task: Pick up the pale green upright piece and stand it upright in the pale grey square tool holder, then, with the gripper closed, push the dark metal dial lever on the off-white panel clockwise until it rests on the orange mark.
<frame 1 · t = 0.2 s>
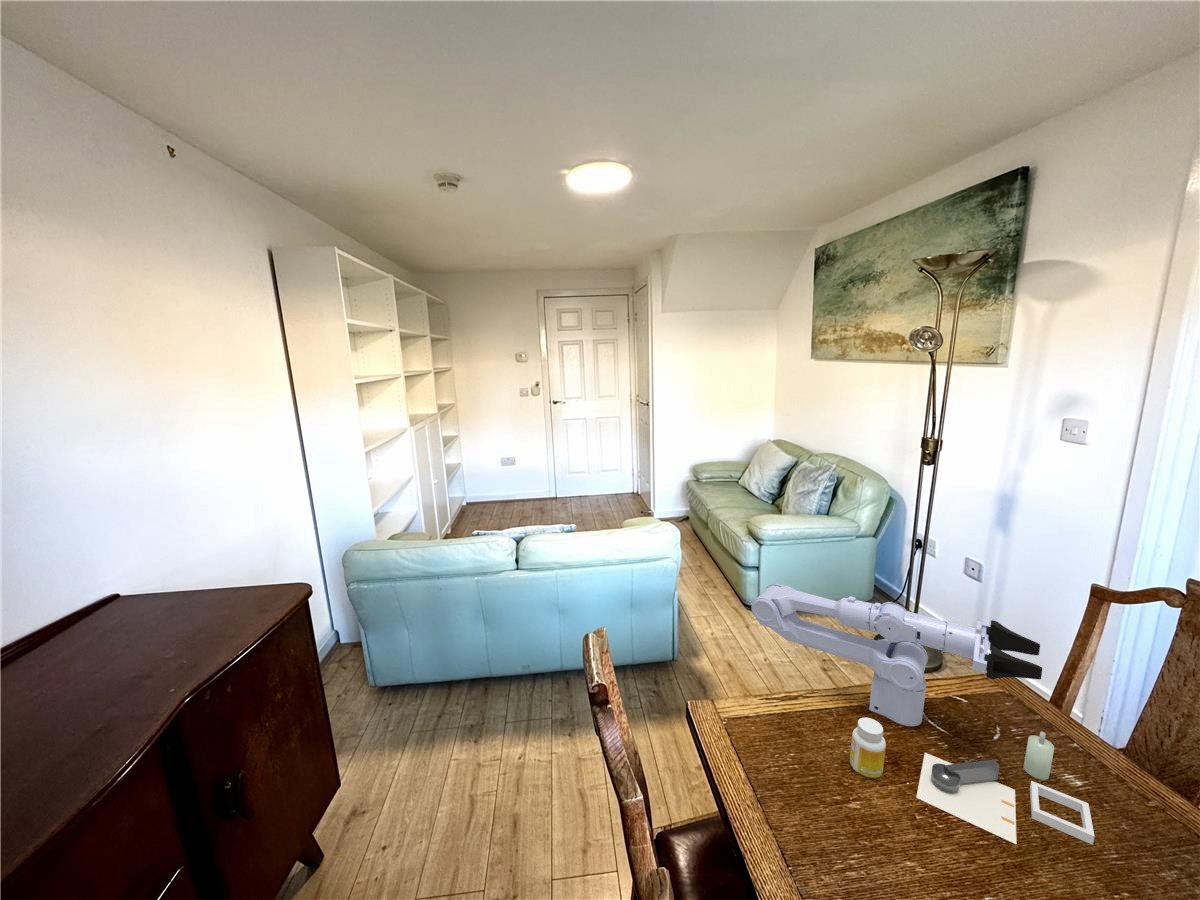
hand: (1040, 661, 85), 21 cm above the table, tool horizontal, fingers open, 7 cm apart
dial panel: (965, 798, 83), on the table
supplement bottle: (865, 771, 89), on the table
tool holder: (1058, 819, 79), on the table
dial lever: (965, 773, 85), point 3 cm above the table, hinge at 45.0°
pale green upright piece: (1035, 776, 87), on the table
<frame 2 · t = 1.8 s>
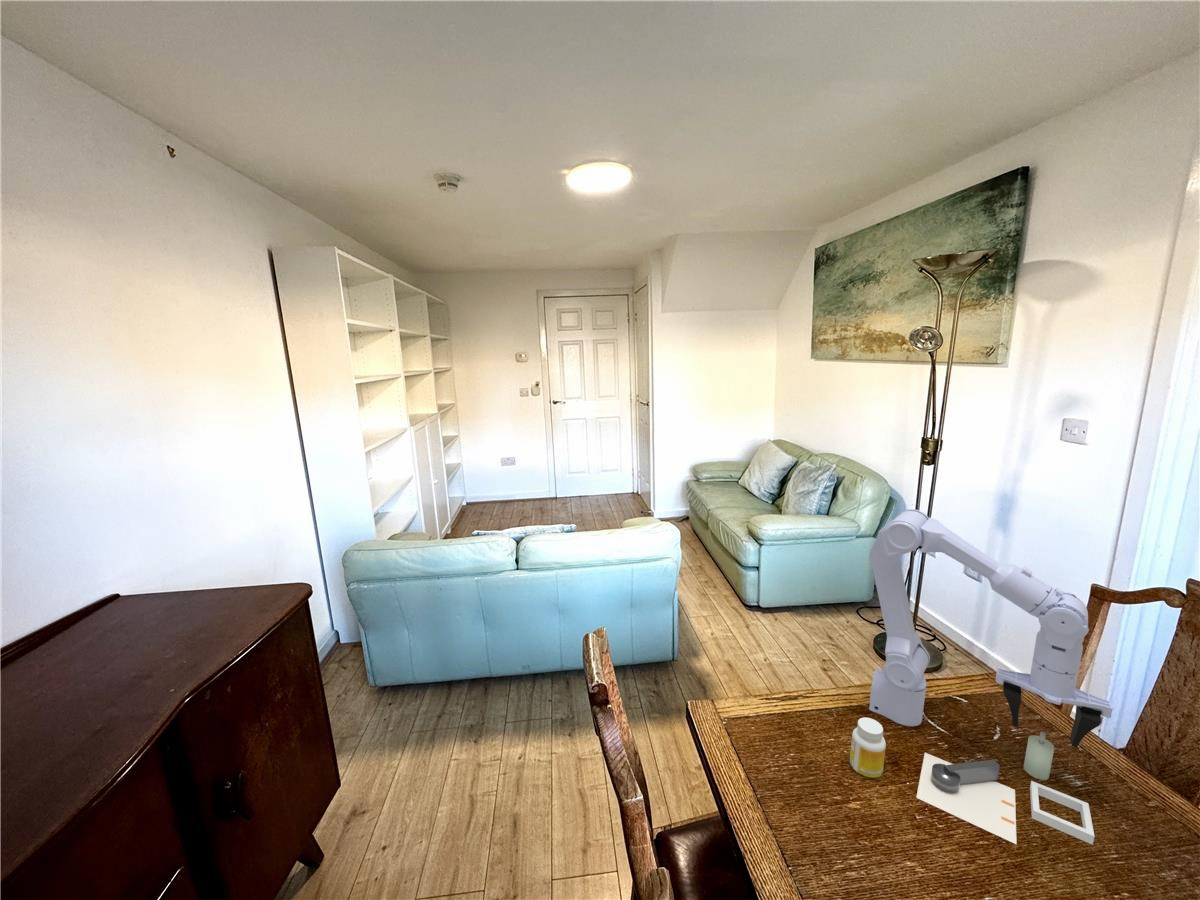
hand: (1043, 733, 85), 9 cm above the table, tool pointing down, fingers open, 7 cm apart
nothing on the table moved.
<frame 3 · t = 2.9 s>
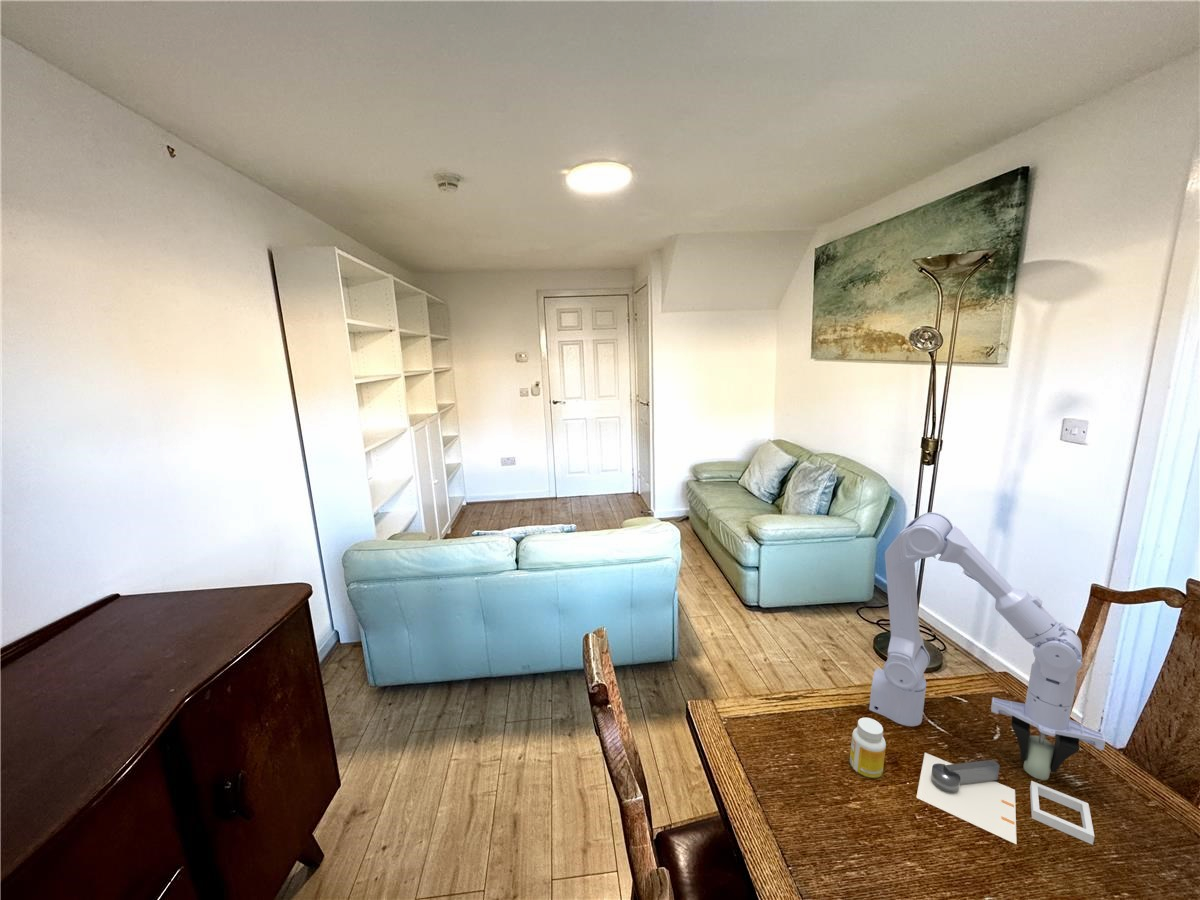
hand: (1037, 762, 86), 3 cm above the table, tool pointing down, fingers closed on pale green upright piece, 3 cm apart
pale green upright piece: (1035, 776, 87), on the table, touching gripper
everything else where it was.
when the fingers open (4 cm above the table, at t = 6.2 s): pale green upright piece stays where it is, resting in tool holder.
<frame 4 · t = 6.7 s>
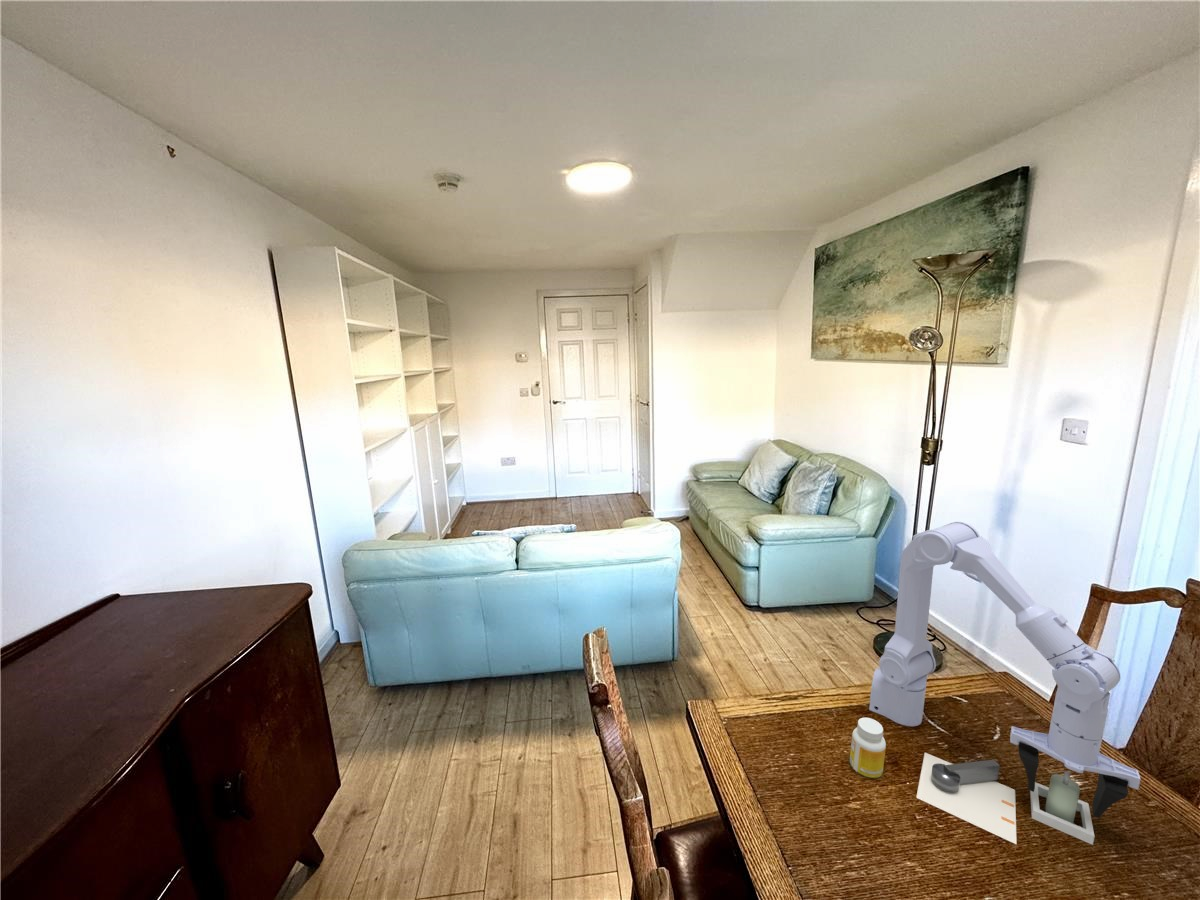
hand: (1062, 799, 78), 4 cm above the table, tool pointing down, fingers open, 7 cm apart
pale green upright piece: (1058, 819, 79), resting in tool holder
everything else where it was.
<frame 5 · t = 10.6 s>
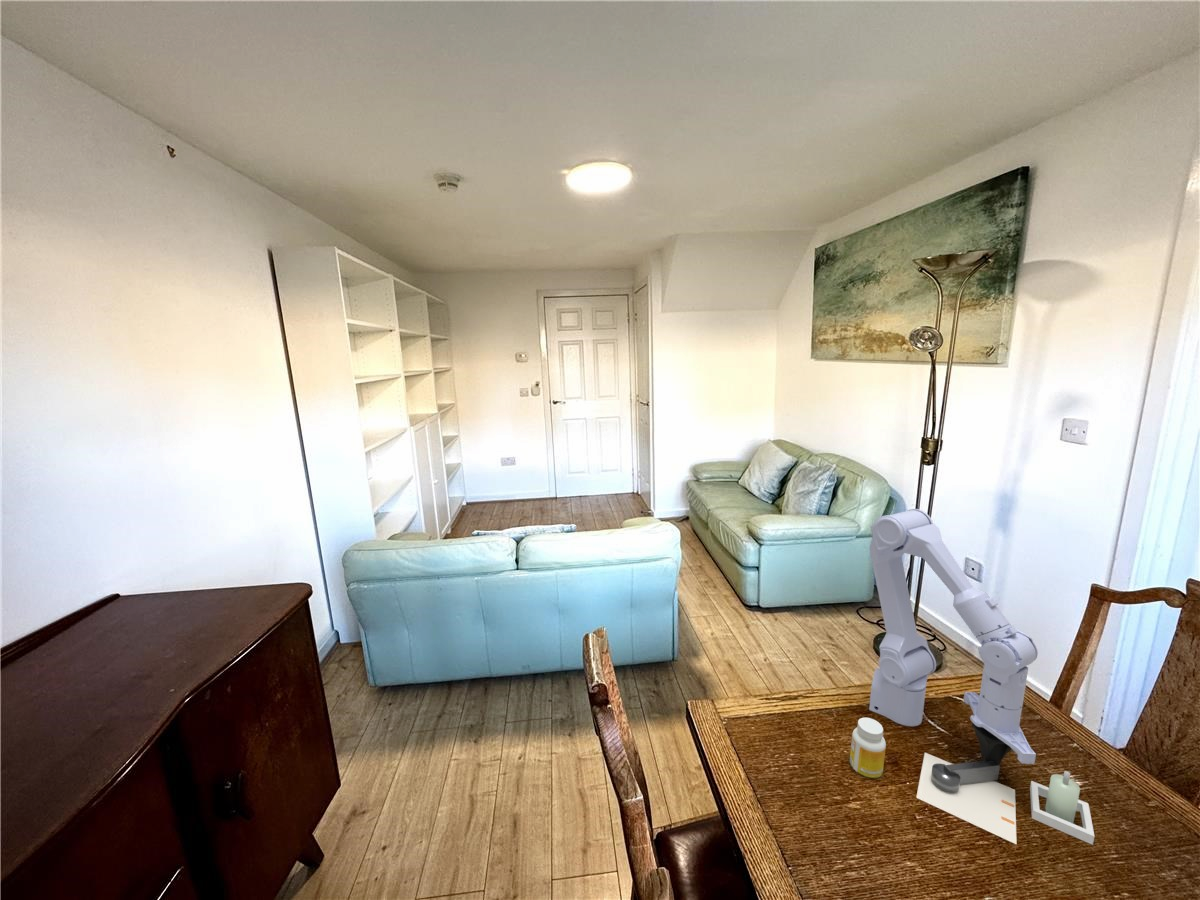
hand: (990, 765, 87), 2 cm above the table, tool pointing down, fingers closed, pressing on dial lever
dial lever: (965, 773, 85), point 3 cm above the table, hinge at 44.9°, touching gripper
everything else where it was.
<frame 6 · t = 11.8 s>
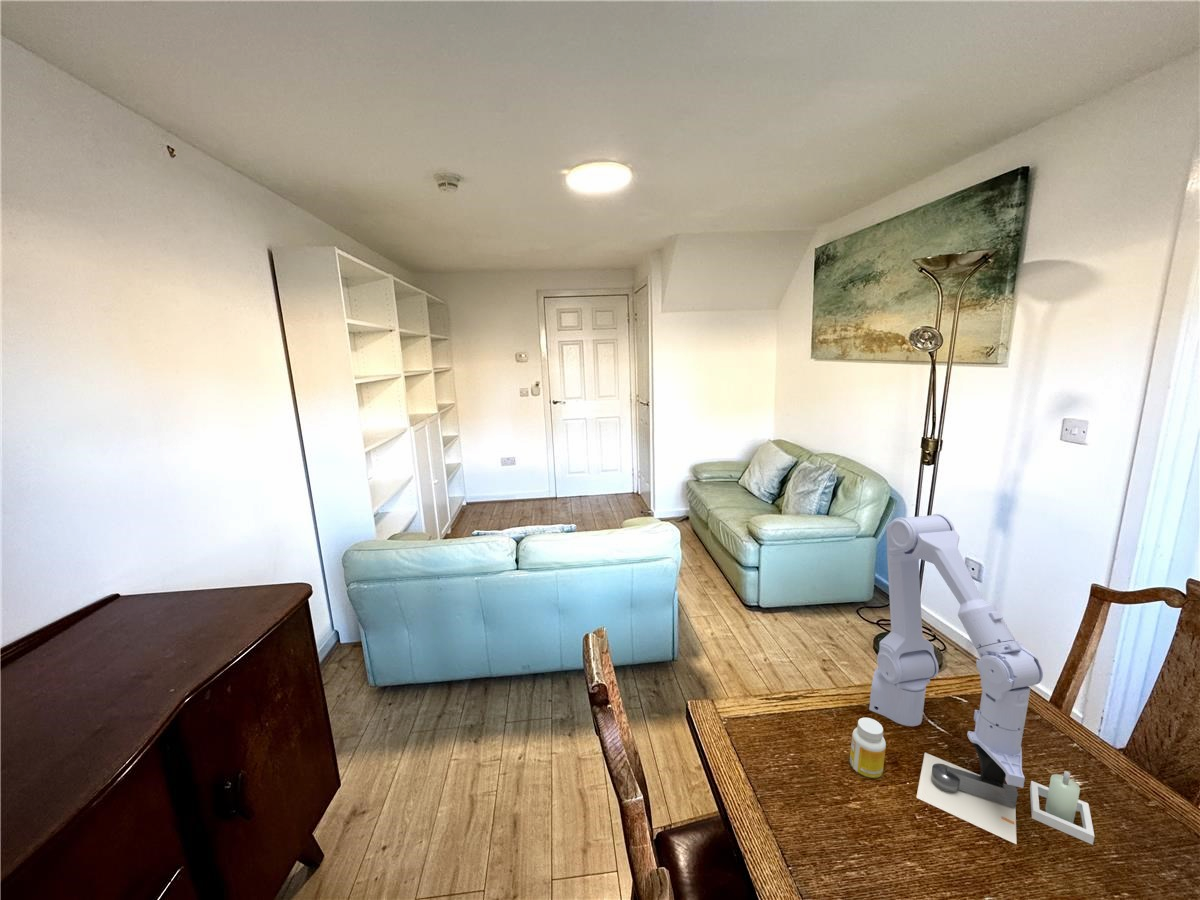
hand: (990, 787, 82), 2 cm above the table, tool pointing down, fingers closed, pressing on dial lever
dial lever: (972, 783, 82), point 3 cm above the table, hinge at 10.9°, touching gripper
everything else where it was.
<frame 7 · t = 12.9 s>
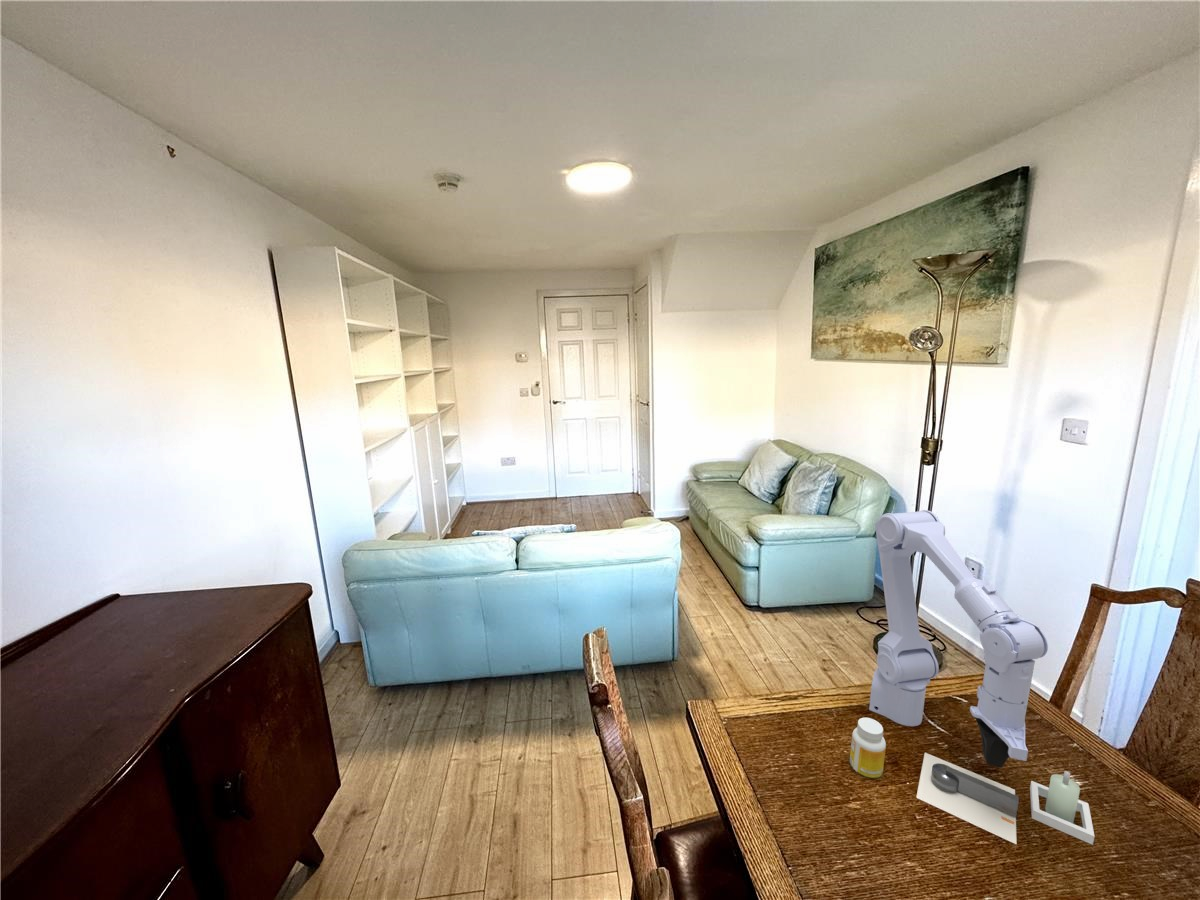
hand: (993, 762, 81), 7 cm above the table, tool pointing down, fingers closed
dial lever: (972, 787, 82), point 3 cm above the table, hinge at -0.7°
everything else where it was.
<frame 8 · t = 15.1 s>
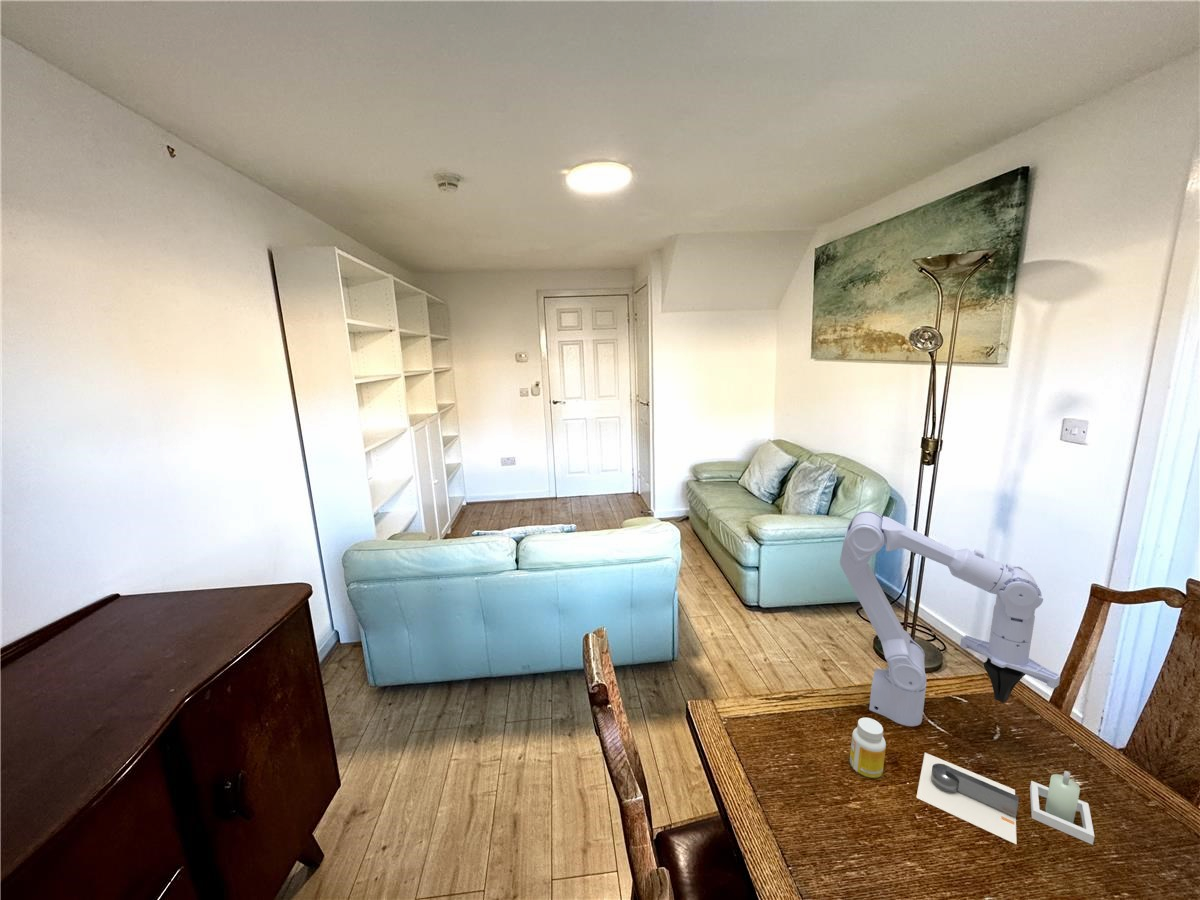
hand: (1001, 699, 91), 10 cm above the table, tool pointing down, fingers closed
dial lever: (972, 787, 82), point 3 cm above the table, hinge at -1.1°
everything else where it was.
at the end: dial lever at -1° (first picture: +45°); pale green upright piece 0.0 cm off-centre on the tool holder, point 0.0 cm above the tool holder's base; pale green upright piece tilted 0° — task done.
